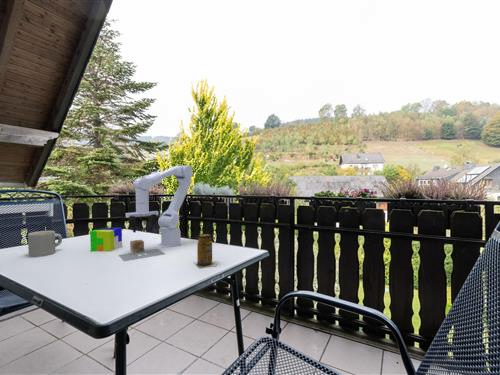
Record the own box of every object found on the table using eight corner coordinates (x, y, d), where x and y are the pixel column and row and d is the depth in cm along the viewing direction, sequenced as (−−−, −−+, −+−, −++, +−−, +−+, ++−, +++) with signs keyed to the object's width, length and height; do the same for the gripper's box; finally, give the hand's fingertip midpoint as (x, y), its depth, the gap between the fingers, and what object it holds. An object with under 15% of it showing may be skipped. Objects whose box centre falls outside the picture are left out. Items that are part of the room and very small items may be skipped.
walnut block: (141, 249, 134) (140, 239, 134) (144, 251, 130) (143, 241, 130) (130, 251, 131) (130, 240, 131) (133, 253, 127) (132, 242, 127)
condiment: (210, 260, 116) (210, 232, 116) (216, 266, 109) (216, 236, 108) (193, 262, 113) (193, 234, 113) (199, 268, 105) (198, 238, 105)
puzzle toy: (122, 246, 139) (121, 227, 139) (110, 252, 129) (109, 231, 129) (103, 246, 140) (103, 227, 140) (90, 251, 130) (90, 231, 130)
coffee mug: (32, 258, 119) (31, 235, 119) (25, 254, 125) (25, 233, 125) (67, 251, 130) (66, 231, 129) (59, 248, 136) (58, 228, 135)
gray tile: (157, 249, 134) (157, 248, 134) (166, 254, 124) (166, 254, 124) (118, 255, 123) (118, 254, 123) (124, 262, 114) (124, 261, 114)
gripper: (128, 204, 121) (128, 234, 122) (160, 202, 130) (160, 230, 131) (124, 203, 127) (125, 232, 127) (155, 201, 136) (155, 228, 136)
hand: (142, 231), depth 129 cm, fingers open, 7 cm apart
